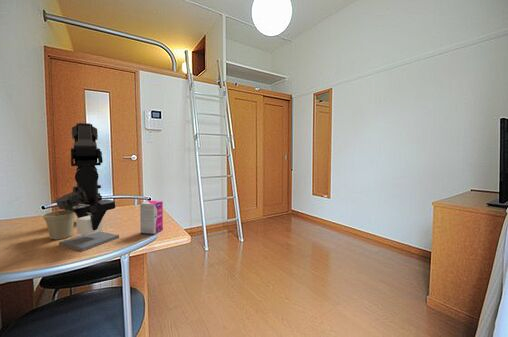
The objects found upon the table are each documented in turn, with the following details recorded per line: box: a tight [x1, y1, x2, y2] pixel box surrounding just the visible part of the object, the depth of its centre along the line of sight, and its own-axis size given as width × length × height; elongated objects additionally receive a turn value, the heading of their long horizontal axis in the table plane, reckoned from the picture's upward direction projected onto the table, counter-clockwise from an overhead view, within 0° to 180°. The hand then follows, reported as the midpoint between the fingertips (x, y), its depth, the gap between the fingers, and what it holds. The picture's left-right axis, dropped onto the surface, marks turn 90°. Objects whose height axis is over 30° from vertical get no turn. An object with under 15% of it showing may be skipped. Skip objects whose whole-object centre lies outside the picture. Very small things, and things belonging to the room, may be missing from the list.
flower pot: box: [41, 209, 76, 241], centre depth 83 cm, size 9×9×9 cm
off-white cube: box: [75, 215, 103, 235], centre depth 78 cm, size 5×5×5 cm
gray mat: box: [58, 231, 120, 252], centre depth 79 cm, size 12×12×1 cm
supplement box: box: [139, 200, 164, 236], centre depth 88 cm, size 6×6×12 cm
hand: (89, 229), depth 79 cm, fingers closed on off-white cube, 5 cm apart
